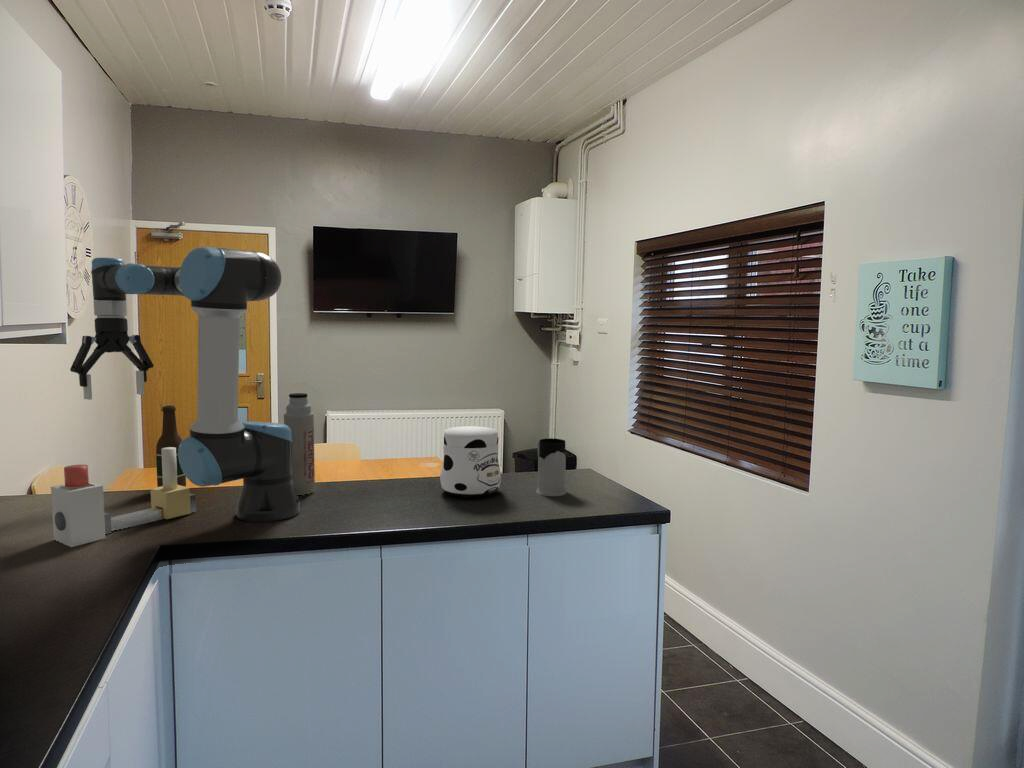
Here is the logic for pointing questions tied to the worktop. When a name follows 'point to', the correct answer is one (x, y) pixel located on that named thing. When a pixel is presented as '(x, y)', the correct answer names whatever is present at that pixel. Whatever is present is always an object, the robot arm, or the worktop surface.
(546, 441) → the glass holder
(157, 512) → the rail
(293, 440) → the thermos bottle
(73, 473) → the gauge button
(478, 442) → the milk container
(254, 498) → the robot arm
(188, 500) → the carriage
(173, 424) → the beer bottle
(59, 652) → the worktop surface
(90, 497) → the white button housing
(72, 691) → the worktop surface
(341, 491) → the worktop surface
